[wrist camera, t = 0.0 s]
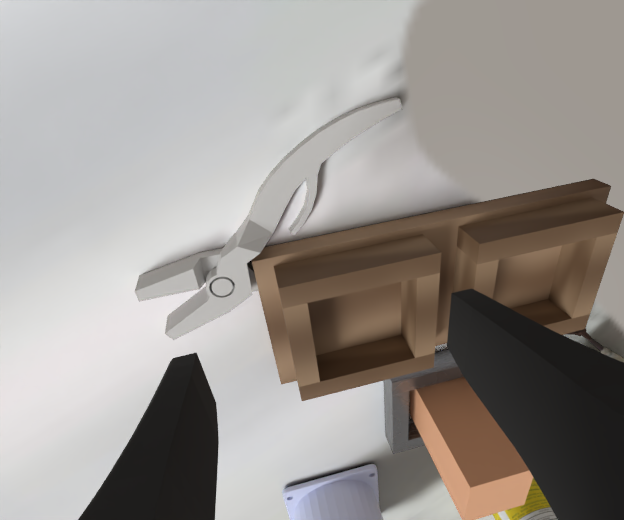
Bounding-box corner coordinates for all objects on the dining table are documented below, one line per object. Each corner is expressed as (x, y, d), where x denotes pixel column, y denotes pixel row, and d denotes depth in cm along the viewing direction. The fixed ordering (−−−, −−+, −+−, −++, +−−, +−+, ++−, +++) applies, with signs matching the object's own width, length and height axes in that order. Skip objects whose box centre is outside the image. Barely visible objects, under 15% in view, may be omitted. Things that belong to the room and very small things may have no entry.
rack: (559, 301, 27) (597, 331, 25) (278, 370, 25) (286, 411, 22) (593, 178, 22) (644, 199, 20) (250, 250, 20) (255, 284, 18)
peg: (457, 400, 31) (524, 504, 24) (409, 412, 30) (463, 523, 24) (461, 364, 29) (536, 468, 22) (409, 377, 28) (470, 487, 21)
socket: (478, 410, 32) (489, 426, 31) (385, 435, 31) (393, 453, 30) (490, 338, 28) (504, 354, 26) (383, 365, 27) (391, 383, 25)
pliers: (444, 270, 22) (201, 378, 22) (430, 256, 23) (202, 358, 23) (406, 96, 17) (86, 240, 17) (392, 91, 18) (95, 224, 18)
